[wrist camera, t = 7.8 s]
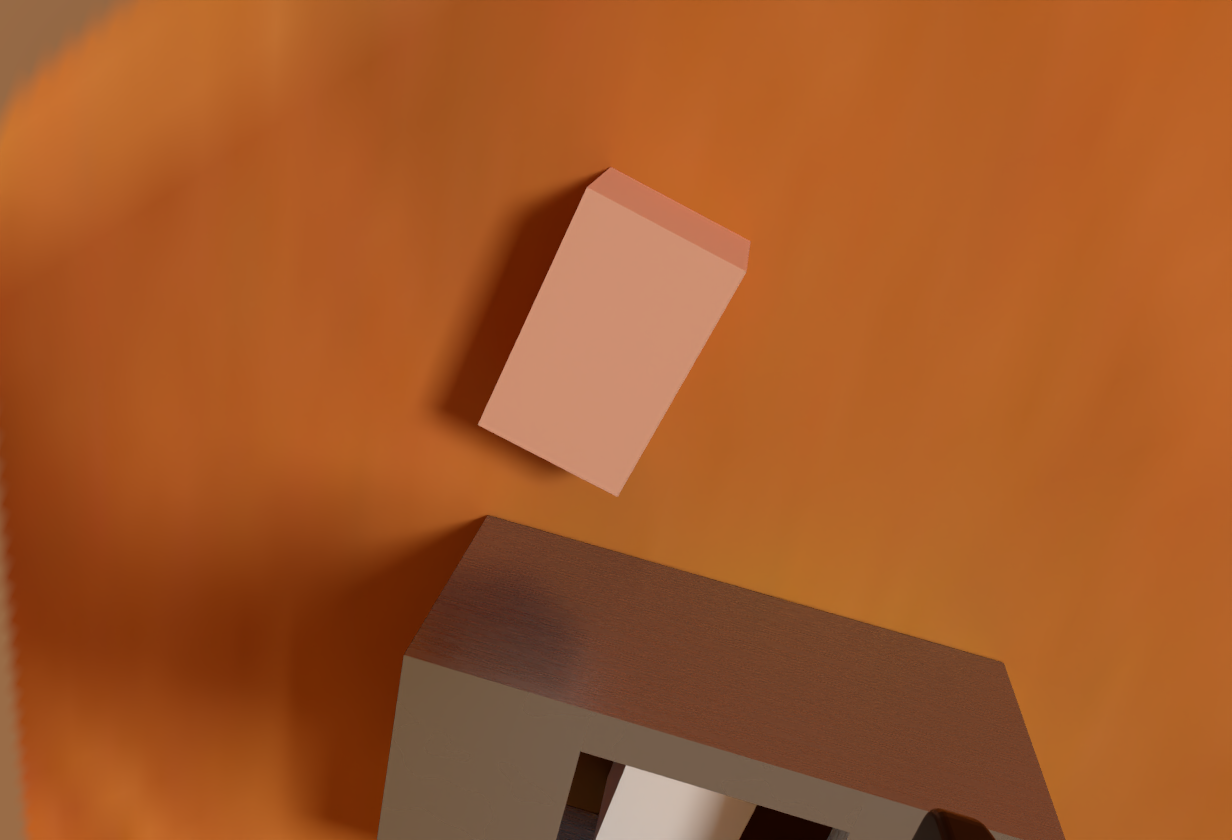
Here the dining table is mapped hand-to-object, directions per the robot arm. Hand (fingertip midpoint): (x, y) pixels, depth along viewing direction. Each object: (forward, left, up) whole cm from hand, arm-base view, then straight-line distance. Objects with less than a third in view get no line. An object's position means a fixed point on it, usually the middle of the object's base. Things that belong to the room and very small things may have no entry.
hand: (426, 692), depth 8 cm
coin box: (-4, +10, -11) cm, 15 cm away
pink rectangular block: (0, 0, -11) cm, 11 cm away
